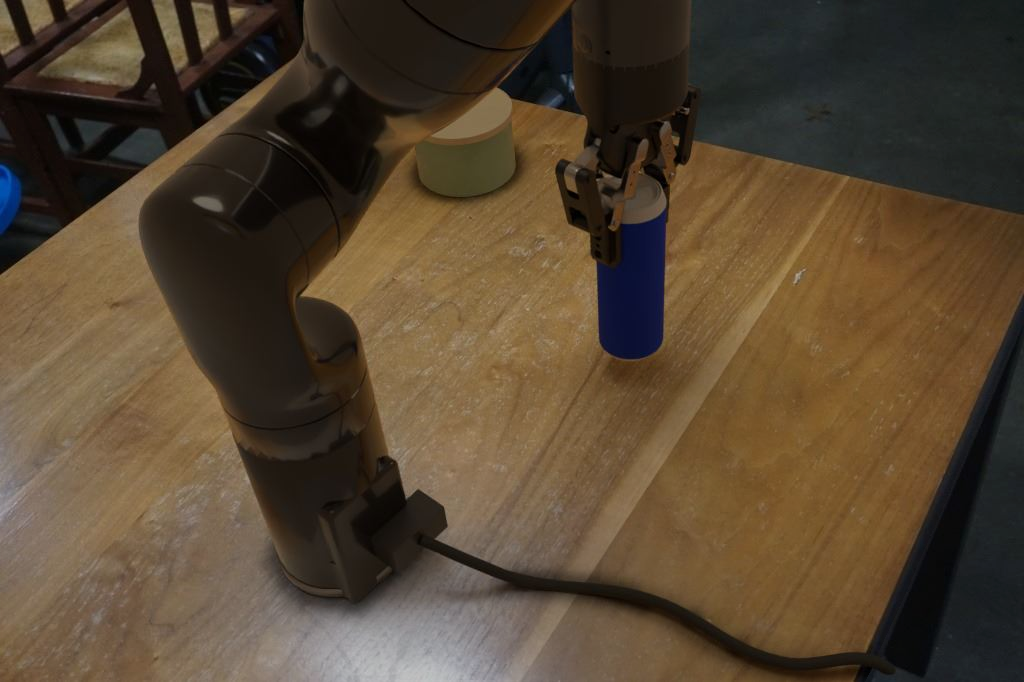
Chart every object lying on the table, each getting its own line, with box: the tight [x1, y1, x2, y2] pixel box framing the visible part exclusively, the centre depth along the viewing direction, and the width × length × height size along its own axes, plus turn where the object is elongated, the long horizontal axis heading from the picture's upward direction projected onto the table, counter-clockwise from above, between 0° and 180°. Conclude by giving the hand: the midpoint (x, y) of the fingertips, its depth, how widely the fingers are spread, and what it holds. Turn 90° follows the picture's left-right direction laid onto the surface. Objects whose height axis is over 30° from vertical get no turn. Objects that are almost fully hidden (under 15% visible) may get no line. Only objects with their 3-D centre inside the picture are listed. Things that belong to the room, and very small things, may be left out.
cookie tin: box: [413, 86, 517, 198], centre depth 111 cm, size 10×10×7 cm
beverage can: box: [595, 172, 667, 362], centre depth 84 cm, size 5×5×15 cm
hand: (631, 241), depth 82 cm, fingers closed on beverage can, 5 cm apart
